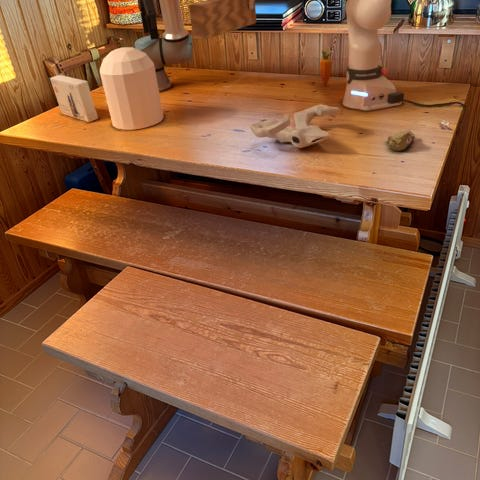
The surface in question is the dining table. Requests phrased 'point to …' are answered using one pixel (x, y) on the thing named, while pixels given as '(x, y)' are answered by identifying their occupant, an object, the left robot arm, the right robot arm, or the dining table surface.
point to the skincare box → (74, 97)
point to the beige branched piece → (297, 127)
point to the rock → (400, 140)
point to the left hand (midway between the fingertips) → (151, 35)
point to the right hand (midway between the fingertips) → (242, 8)
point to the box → (220, 17)
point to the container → (131, 89)
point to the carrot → (325, 67)
